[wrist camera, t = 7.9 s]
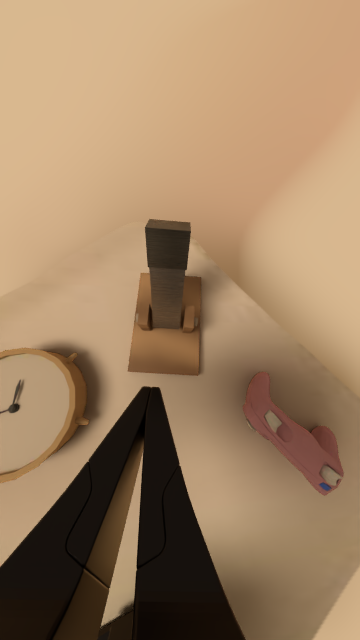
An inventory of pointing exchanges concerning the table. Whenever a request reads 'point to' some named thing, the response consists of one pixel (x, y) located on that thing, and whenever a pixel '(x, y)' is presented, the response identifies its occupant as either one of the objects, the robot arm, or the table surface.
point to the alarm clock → (37, 407)
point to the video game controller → (294, 437)
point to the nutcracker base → (166, 334)
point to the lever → (167, 269)
